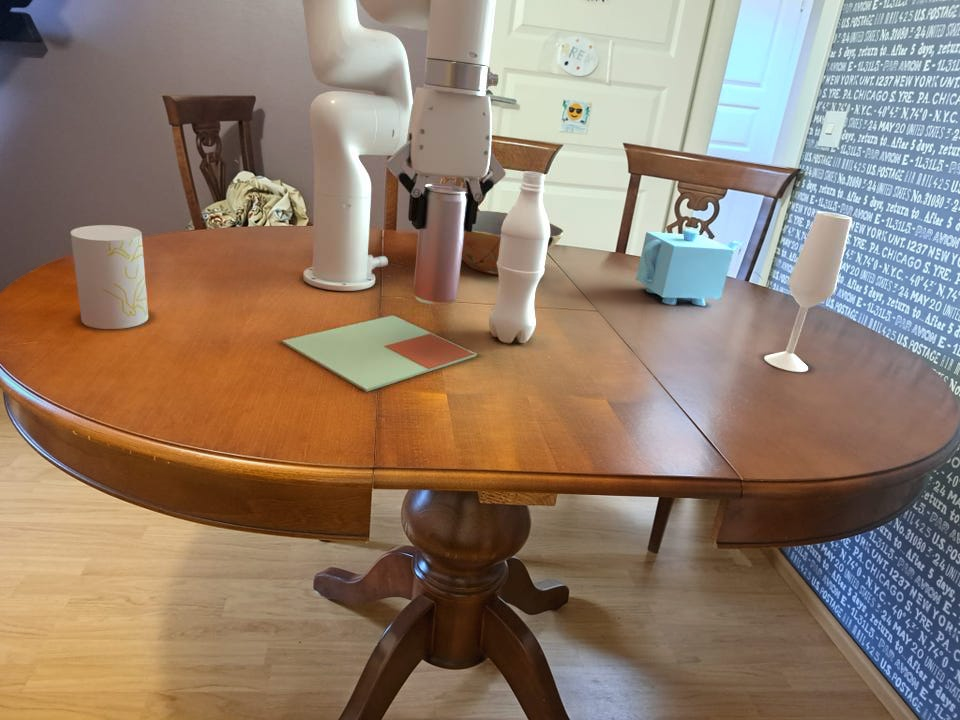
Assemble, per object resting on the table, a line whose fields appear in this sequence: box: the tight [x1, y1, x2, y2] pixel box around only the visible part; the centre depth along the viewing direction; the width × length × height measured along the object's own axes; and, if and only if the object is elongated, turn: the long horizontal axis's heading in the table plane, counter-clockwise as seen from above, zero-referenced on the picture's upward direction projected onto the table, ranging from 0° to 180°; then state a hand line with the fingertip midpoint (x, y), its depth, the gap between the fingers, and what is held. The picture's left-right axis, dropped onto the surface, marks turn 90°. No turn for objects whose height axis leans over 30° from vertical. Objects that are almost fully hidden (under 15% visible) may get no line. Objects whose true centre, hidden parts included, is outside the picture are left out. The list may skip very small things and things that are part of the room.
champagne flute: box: [763, 211, 853, 373], centre depth 102 cm, size 7×7×24 cm
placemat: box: [281, 314, 478, 393], centre depth 92 cm, size 20×18×1 cm
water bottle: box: [488, 170, 550, 344], centre depth 98 cm, size 7×7×25 cm
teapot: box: [635, 228, 745, 306], centre depth 133 cm, size 22×11×14 cm, turn 105°
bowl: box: [461, 210, 564, 276], centre depth 136 cm, size 25×25×10 cm
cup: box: [70, 224, 149, 330], centre depth 89 cm, size 8×8×12 cm
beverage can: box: [413, 183, 468, 307], centre depth 87 cm, size 6×6×15 cm
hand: (441, 226), depth 86 cm, fingers closed on beverage can, 6 cm apart
